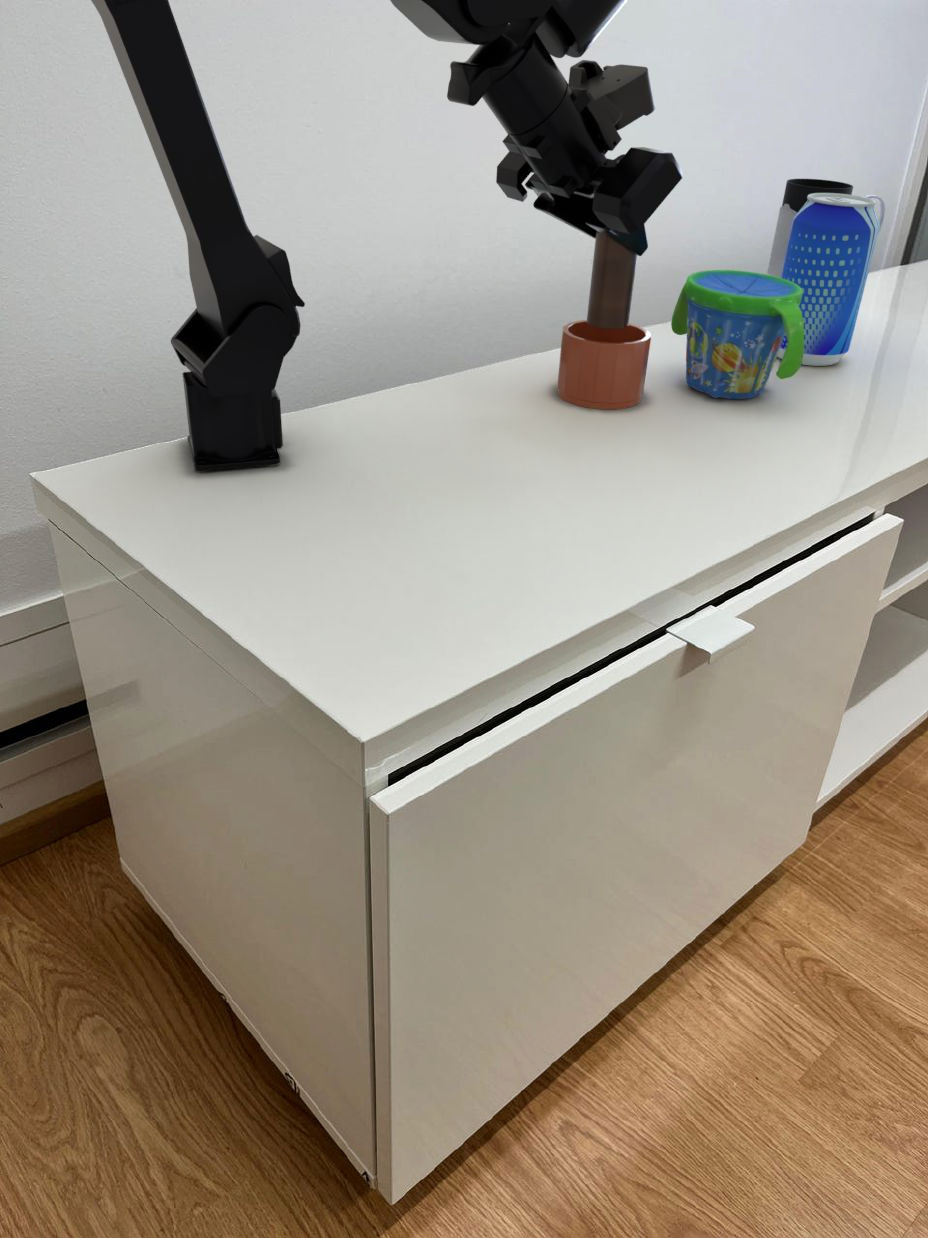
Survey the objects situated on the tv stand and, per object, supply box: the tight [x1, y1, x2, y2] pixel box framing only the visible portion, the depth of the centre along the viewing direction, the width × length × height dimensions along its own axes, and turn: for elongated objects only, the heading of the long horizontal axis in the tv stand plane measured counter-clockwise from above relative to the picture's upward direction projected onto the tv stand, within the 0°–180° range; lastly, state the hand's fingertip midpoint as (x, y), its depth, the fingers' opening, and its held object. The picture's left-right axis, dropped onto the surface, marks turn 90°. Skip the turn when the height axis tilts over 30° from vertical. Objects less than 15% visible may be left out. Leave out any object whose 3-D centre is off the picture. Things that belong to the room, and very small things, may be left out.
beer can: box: [777, 193, 879, 367], centre depth 102 cm, size 8×8×16 cm
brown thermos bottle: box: [586, 230, 638, 329], centre depth 86 cm, size 4×4×13 cm
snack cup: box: [670, 269, 804, 400], centre depth 93 cm, size 16×10×10 cm
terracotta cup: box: [556, 319, 652, 410], centre depth 91 cm, size 8×8×6 cm
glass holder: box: [766, 178, 887, 278], centre depth 119 cm, size 9×14×15 cm, turn 106°
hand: (628, 246), depth 86 cm, fingers closed on brown thermos bottle, 4 cm apart
